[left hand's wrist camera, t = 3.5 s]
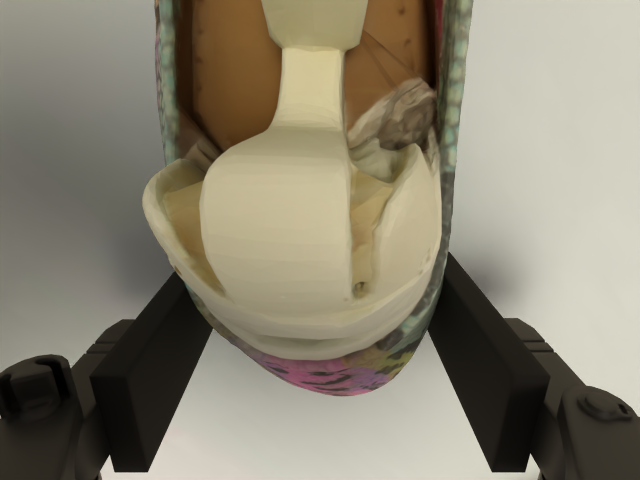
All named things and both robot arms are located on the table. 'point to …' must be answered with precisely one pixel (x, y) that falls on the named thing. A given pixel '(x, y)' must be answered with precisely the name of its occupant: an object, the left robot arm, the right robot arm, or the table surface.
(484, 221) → the table surface
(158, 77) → the ballet flat
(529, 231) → the table surface
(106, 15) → the table surface
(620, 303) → the table surface
